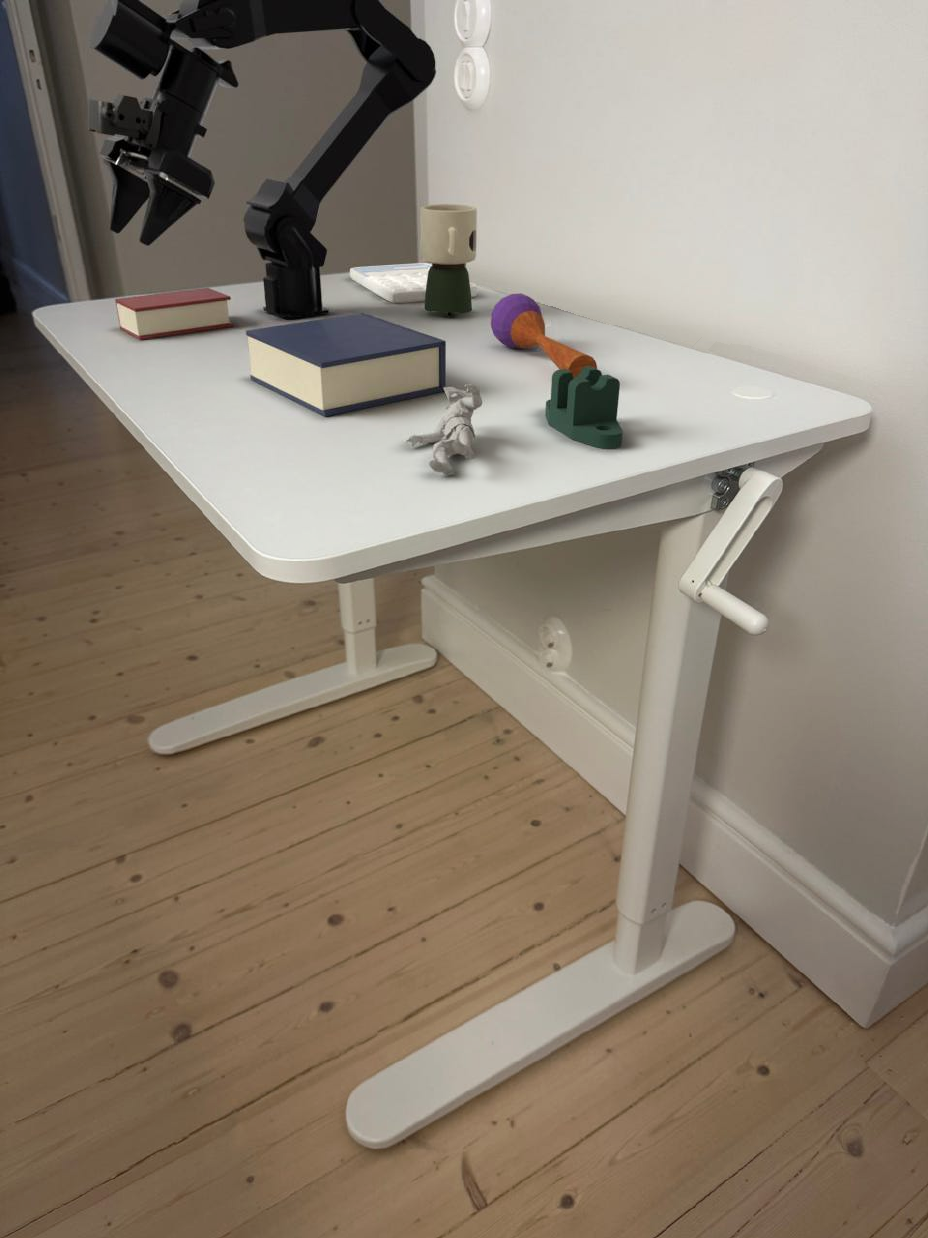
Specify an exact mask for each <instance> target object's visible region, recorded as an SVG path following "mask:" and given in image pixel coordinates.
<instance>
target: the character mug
mask: <svg viewBox="0 0 928 1238" xmlns="http://www.w3.org/2000/svg"><path fill="white" fill-rule="evenodd" d="M419 212H420V215H419V216H420V222H419V223H420V225H419V226H420V260H422V261H423V262H425V263H428V264H431V265H432V266H431V267H430V269H429V271H428V277H427V285H426V293H425V301H424V307H423V309H424V311H426V312H430V313H446V315H447V317H452V316H453V314H460V315H461V314H468V313H470V312H472V311H473V303H472V297H471V290H470V282H471V281H470V275H469V271H468V269H467V264H468V263H471V262H473V261H475V260H476V258H477V228H478V227H477V226H478V225H477V224H478V221H477V220H478V208H477V207H475V206H473V205H465V204H450V203H449V204H448V203H447V204H446V203H445V204H444V203H442V204H441V203H440V204H428V205H423V206H421V207H420V209H419Z"/></svg>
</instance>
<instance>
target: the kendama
mask: <svg viewBox="0 0 928 1238" xmlns="http://www.w3.org/2000/svg"><path fill="white" fill-rule="evenodd" d="M490 328H491V331H492V335H493V336H494V338H496V339H497V340H498V342H500V343H501V344H502V345H503V346H506V347H508V348H511V349H518V348H520V349H530V348H533V347H536V346H539V347H540V349H541V350H542V351H543V352H544V353H545V354H546V355H547V357H548V358H549V359H550V360H551V361H552V363H553V364H554V365H555V366H556V368H557V370H560V369H567V370H569V371H571V372H572V375H573V378H574V377H577V376H578V375H579V374H580V373H581V371H582V368H583V367H586V366H592V367H594V368H596V369H598V365H597V361H596V360H595V359H594V358H593V356H591V355H588V354H586V353H584V352H582V351H580V350H578V349H575V348H573V347H571V346H569V345H566V344H564V343H562V342H560V341H557V340H555V339H553V338H551V337H549V336H547V335H546V323H545V319H544V318H543V314H542V311H541V307H540V305H539V304H538V303H537V302H536V301H535V299H533V298H532V297H531V296H529V295H526V294H523V293H511V294H508V295H506V296H504V297H502V298H500V299H499V300H498V302H497V303H496V304H494V306H493V309H492V311H491V314H490Z"/></svg>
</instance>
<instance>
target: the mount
mask: <svg viewBox="0 0 928 1238" xmlns="http://www.w3.org/2000/svg"><path fill="white" fill-rule="evenodd" d="M620 386H621V382H620V380H619V379H618V378H616V377H614V376H612V375H610V374H603V373H602V371H601V369H598V368H597V369H596V368H594V367H592V366H586V367H583V368H582V371H581V373H580V374H579V375H578V376H577V377H574V378H573V375H572V372H571V371H569V370H567V369H560V370H559V369H556V370H555V371H554V372H553V373H552V375H551V386H550V387H551V388H550V399H547V400H546V401H545V413H544V414H545V419H546V422H547V424H548V425H549V427H552V428H553V429H555V430H556V431H558V432H559V433H561V434H562V435H564V436H566V437H568V438H569V439H570V440H572V441H573V440H574V441H576V442H579V443H583V444H585V445H589V446H592V447H595V448H598V449H604V450H605V449H607V450H609V449H617V448H621V446H622V443H623V433H624V430H623V428H622V426H621V425H620V423H619V422H618V420H617V419H618V418H617V417H618V411H619V410H618V409H619V398H620V388H621V387H620Z"/></svg>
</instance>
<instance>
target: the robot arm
mask: <svg viewBox="0 0 928 1238" xmlns="http://www.w3.org/2000/svg"><path fill="white" fill-rule="evenodd" d="M93 21H94V22H93V24H92V27H91V31H90V35H89V46H90V48H91V49H92V50H93V51H95V53H98V54H99V55H101V56H102V57H104V58H106V59H107V60H109V61H110V62H111V63H113V64H114V65H116V66H118V67H120V68H121V69H123V70H124V71H125V72H128V73H129V74H130V75H132V76H134V77H136V78H137V79H138V80H140V81H143V80H145V79H147V77H148V76H149V75H150V76H151V77H154V78H155V77H157V76H158V75H159V74H160V75H159V77H158V81H157V83H156V86H155V89H154V91H153V93H152V96H151V98H150V97H144V98H142V99H141V100H140V102H139V100H138V98H137V97H135V96H129V95H125V94H119V93H118V94H117V95H116V96H115V99H114V100H113V102H110V101H104V100H98V99H92V98H88V99H87V131H89V132H93V133H97V134H101V135H106V136H110V137H107V138H105V139H104V141H103V144H102V147H101V149H100V151H99V155H100V156H101V157H103V159H102V163H103V166H105V168H106V169H107V171H108V173H109V176H110V178H111V180H112V184H111V185H112V188H111V201H110V202H111V203H110V204H111V205H110V217H109V230H110V231H111V232H113V233H115V234H120V233H121V232H122V231H123V230H124V229H125V227H126V226H127V225H128V224H129V223H130V221H132V219H133V218H134V217H135V216H136V214H137V213H138V212H139V210H140V209H141V208H142V207H143V206H144V204H145V203H146V202H147V204H146V209H145V213H144V215H143V219H142V225H141V229H140V234H139V243H141V244H143V245H145V246H147V247H148V246H150V245H152V244H153V243H154V242H155V241H157V239H158V238H159V237H160V236H162V235H163V234H164V233H165V232H166V231H167V230H168V229H170V227H172V226H173V225H174V224H175V223H176V222H177V221H179V220H180V219H181V218H182V217H183V216H185V214H187V213H188V212H189V211H191V210H192V209H193V208H195V207H196V205H201V203H202V199H207V200H209V199H210V197H211V195H212V192H213V190H214V187H215V184H216V182H215V179H214V176H213V173H212V170H210V169H209V168H207V167H206V166H204V165H202V164H200V163H199V162H198V161H195V159H193V158H192V157H190V155H191V153H192V151H193V148H194V145H195V143H196V141H197V137H198V138H202V139H204V138H205V136H206V134H207V132H208V129H207V128H206V127H204V126H203V125H202V124H203V122H204V119H205V117H206V115H207V113H208V109H209V107H210V104H211V102H212V99H213V96H214V94H215V91H216V89H217V86H218V85H219V86H221V87H222V88H229V89H231V88H232V89H236V88H238V87H239V86H240V85H239V80H238V78H237V76H236V74H235V72H234V70H233V63H232V61H231V60H230V59H220V60H219V61H218V60H217V59H215V58H213V57H212V56H211V55H210V54H208V53H206V52H205V51H204V50H230V49H234V48H238V47H240V46H244V45H247V44H250V43H253V42H256V41H259V40H261V39H263V38H266V37H269V36H273V35H277V34H291V33H292V34H293V33H305V32H307V33H308V32H318V31H319V32H320V31H334V30H335V31H336V30H344V31H345V32H346V33H347V34H348V35H349V37H350V39H351V41H352V43H353V44H354V47H355V49H356V50H357V52H358V54H359V56H360V57H361V58H362V59H363V60H364V61H365V62H366V64H365V66H364V67H363V70H362V74H361V79H360V82H359V87H358V90H357V92H356V93H355V94H354V95H353V96H352V98H351V99H350V100H349V102H348V103H347V104H346V105H345V107H344V108H343V109H342V111H341V112H340V113H339V114H338V116H337V117H336V118H335V119H334V121H333V122H332V123H331V125H330V126H329V127H328V129H327V130H326V131H325V132H324V134H323V135H322V136H321V138H320V139H319V140H318V141H317V142H316V143H315V145H314V146H313V147H312V149H311V150H310V151H309V153H308V154H307V155H306V156H305V157H304V159H303V160H302V162H301V163H300V164H299V165H298V166H297V168H296V169H295V170H294V171H293V172H292V174H291V175H290V176H289V177H288V178H287V179H285V180H284V181H283V180H278V179H273V178H265V179H264V181H263V182H262V184H261V185H260V188H259V189H258V191H257V192H256V194H255V195H254V196H253V197H252V198H250V199H248V200H246V202H245V203H246V204H247V205H249V207H248V208H247V210H246V212H245V213H244V216H243V219H242V220H243V225H244V227H243V228H244V232H245V236H246V238H247V239H248V241H249V242H250V243H251V244H252V245H253V246H255V247H256V248H257V252H258V254H259V256H260V258H261V260H263V261H266V262H265V263H264V268H265V275H264V276H263V278H262V282H263V293H264V302H265V303H264V304H265V306H262V308H263V309H262V311H264V312H266V313H268V314H271V315H274V316H277V317H278V318H282V319H285V320H290V319H291V320H292V319H299V318H304V317H311V316H318V315H323V314H329V313H330V310H329V308H327V307H324V306H323V297H322V280H321V267H324V265H325V263H326V257H327V253H328V248H327V247H325V246H324V244H322V242H321V241H319V239H318V238H317V237H315V235H314V234H312V232H313V230H314V228H315V227H316V224H317V220H318V216H319V212H320V207H321V204H322V202H323V200H324V199H325V198H326V196H328V194H329V192H330V191H331V190H332V189H333V187H334V186H335V185H336V184H337V183H338V181H339V180H340V179H341V177H342V176H343V175H344V174H345V172H346V171H347V170H348V168H349V167H350V166H351V165H352V163H353V162H354V161H355V160H356V158H357V157H358V155H359V154H360V153H361V152H362V150H363V149H364V148H365V147H366V145H367V144H368V143H369V142H370V140H371V139H372V138H373V136H374V135H375V134H376V133H377V131H378V130H379V129H380V127H381V126H382V125H383V124H384V122H385V121H386V120H387V119H388V118H389V116H390V115H392V114H394V113H395V112H396V111H398V110H400V109H402V108H404V107H405V106H407V105H408V104H410V103H412V102H413V101H414V100H415V99H417V98H418V97H419V96H420V95H421V94H422V93H423V92H425V91H426V90H427V89H428V88H430V86H431V85H432V84H433V81H435V78H436V75H437V69H436V57H435V53H434V51H433V49H432V47H431V46H430V44H429V43H428V42H427V41H426V40H424V39H422V38H420V37H418V36H417V35H416V34H415V32H413V30H412V29H411V28H410V27H409V26H408V25H406V24H405V23H404V22H403V21H402V20H400V19H399V18H398V17H396V15H394V14H393V13H391V12H390V10H388V9H386V7H385V6H384V5H383V4H382V2H380V0H181V2H180V5H179V8H178V9H176V10H174V11H172V12H170V13H167V14H162V15H160V14H159V13H158V12H156V11H155V10H153V9H152V8H150V7H149V6H148V5H146V4H145V3H143V2H142V1H140V0H107V1H106V2H105V4H104V6H103V7H102V9H101V11H100V13H99V15H97V16H96V17H95V18H94V20H93ZM186 39H187V40H188V41H189V42H190V43H191V44H192V45H193V46H194V47H193V48H191V49H190V50H189V49H187V48H186V47H185V46H182V45H181V44H179V43H178V42H176V41H175V40H186ZM199 197H200V198H199ZM201 198H202V199H201ZM267 261H268V262H267Z"/></svg>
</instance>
